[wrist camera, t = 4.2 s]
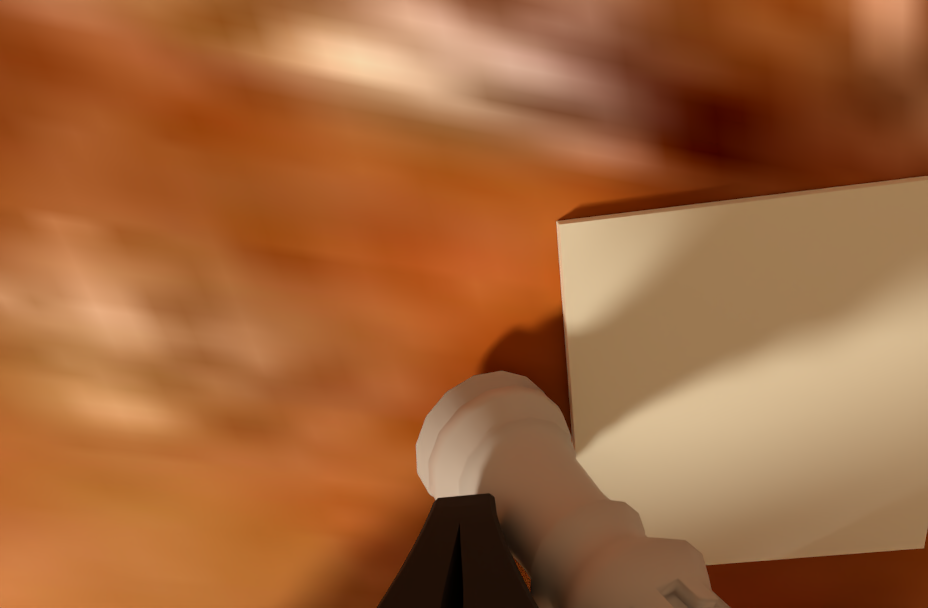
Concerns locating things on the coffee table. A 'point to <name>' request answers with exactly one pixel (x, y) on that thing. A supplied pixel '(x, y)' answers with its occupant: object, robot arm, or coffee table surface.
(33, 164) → the coffee table surface
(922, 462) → the paper sticky note
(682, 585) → the rook chess piece
